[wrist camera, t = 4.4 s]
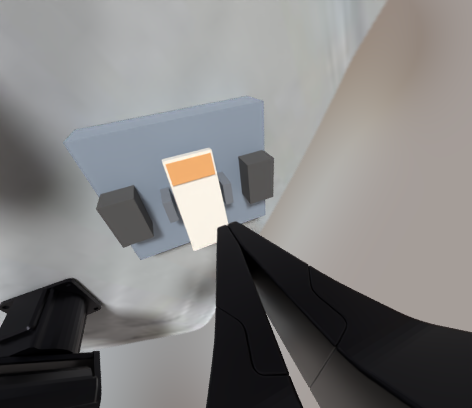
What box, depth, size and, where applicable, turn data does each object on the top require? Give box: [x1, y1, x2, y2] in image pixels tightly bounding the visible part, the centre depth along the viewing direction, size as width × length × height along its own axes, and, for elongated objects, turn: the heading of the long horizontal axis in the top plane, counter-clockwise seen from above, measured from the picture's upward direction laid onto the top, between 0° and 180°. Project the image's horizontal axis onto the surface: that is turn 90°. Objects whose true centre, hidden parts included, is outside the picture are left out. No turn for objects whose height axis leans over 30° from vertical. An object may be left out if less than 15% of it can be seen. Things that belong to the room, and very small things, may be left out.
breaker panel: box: [63, 96, 265, 260], centre depth 18 cm, size 12×14×5 cm
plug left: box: [96, 185, 154, 248], centre depth 16 cm, size 4×2×2 cm, turn 7°
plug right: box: [238, 150, 274, 204], centre depth 18 cm, size 4×2×2 cm, turn 7°
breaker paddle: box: [162, 148, 228, 251], centre depth 16 cm, size 8×4×1 cm, turn 7°
